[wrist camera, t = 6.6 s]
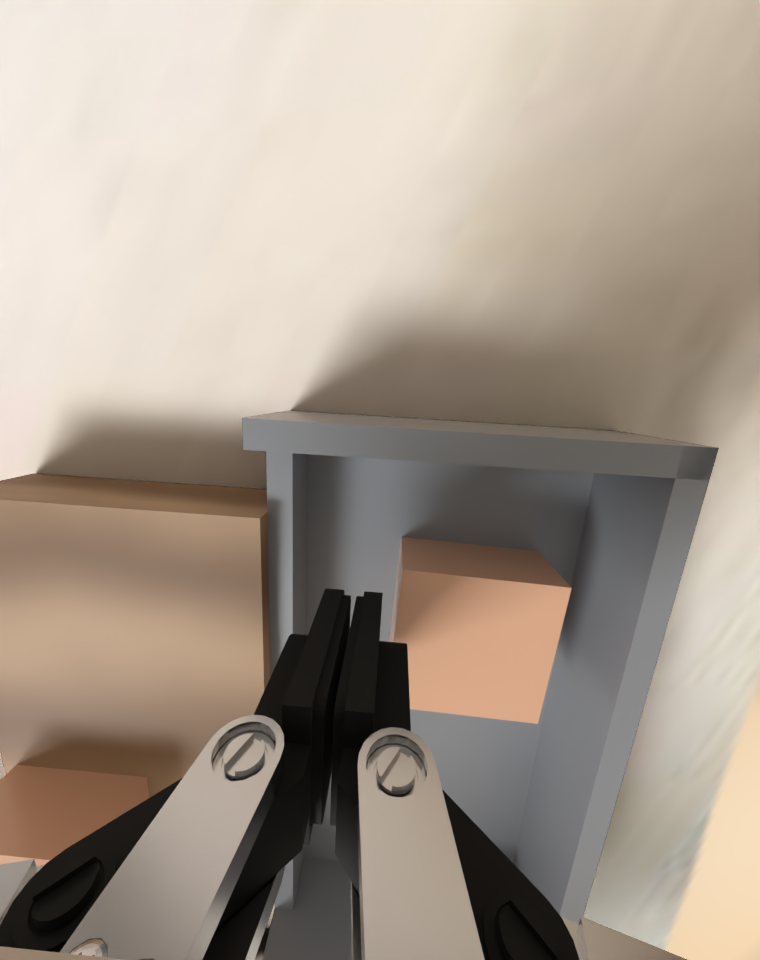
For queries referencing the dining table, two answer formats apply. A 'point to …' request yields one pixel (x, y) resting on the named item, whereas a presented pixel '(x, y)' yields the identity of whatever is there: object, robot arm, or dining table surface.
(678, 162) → the dining table surface
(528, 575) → the tile
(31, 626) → the board
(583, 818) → the box
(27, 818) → the tile
